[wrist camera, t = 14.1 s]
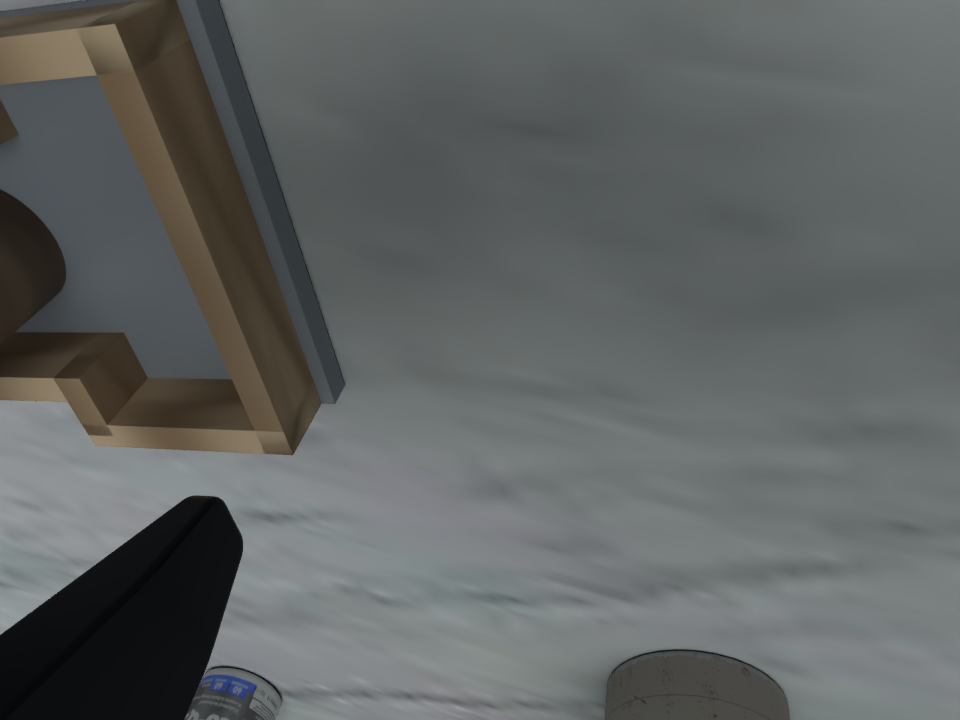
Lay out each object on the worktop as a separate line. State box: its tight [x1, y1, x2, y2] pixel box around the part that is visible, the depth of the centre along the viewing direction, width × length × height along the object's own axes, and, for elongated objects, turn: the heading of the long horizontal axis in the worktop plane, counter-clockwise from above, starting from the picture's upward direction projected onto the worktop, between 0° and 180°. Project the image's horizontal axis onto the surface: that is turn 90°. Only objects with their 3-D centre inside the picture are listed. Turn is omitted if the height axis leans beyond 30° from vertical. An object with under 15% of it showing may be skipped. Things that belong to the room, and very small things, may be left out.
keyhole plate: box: [0, 0, 345, 455], centre depth 23 cm, size 14×13×4 cm
